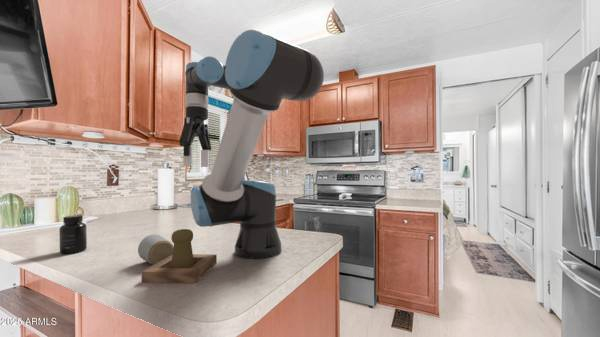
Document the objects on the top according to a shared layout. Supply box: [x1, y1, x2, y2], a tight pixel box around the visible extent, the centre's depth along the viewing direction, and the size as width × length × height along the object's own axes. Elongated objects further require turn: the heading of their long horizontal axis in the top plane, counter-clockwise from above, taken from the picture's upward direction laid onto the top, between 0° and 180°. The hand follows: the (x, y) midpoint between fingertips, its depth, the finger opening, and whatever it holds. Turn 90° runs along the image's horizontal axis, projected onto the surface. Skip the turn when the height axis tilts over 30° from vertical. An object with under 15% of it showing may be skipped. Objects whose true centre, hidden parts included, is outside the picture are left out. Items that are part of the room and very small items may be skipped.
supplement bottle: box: [59, 214, 88, 255], centre depth 85 cm, size 7×7×12 cm
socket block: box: [141, 253, 218, 284], centre depth 66 cm, size 13×13×2 cm
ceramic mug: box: [137, 234, 174, 266], centre depth 74 cm, size 11×8×8 cm
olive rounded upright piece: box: [170, 228, 194, 268], centre depth 66 cm, size 6×6×11 cm
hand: (197, 166), depth 90 cm, fingers open, 13 cm apart
